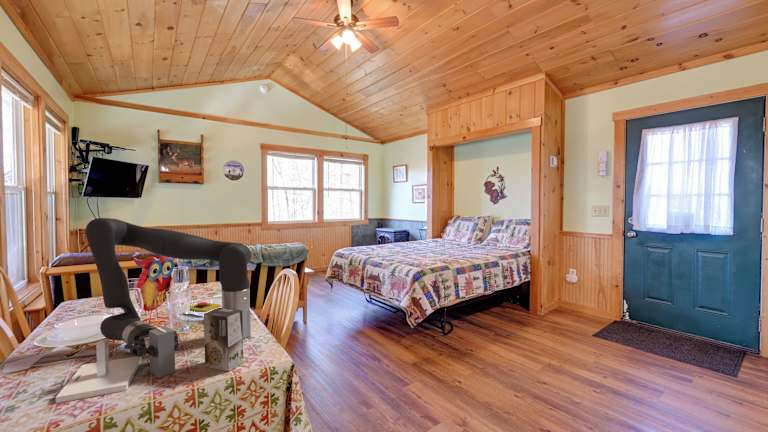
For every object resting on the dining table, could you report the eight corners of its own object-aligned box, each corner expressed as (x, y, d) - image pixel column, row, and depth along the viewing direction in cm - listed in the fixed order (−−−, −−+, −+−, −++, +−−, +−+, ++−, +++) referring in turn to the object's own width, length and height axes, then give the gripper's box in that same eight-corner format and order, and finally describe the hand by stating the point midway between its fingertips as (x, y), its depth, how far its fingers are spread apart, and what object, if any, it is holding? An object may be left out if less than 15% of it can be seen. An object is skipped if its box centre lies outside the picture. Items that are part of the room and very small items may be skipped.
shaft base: (83, 369, 100) (82, 364, 100) (141, 360, 106) (141, 355, 106) (55, 403, 84) (55, 396, 84) (126, 390, 90) (126, 384, 90)
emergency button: (200, 298, 158) (225, 302, 152) (200, 308, 158) (226, 312, 153) (181, 304, 149) (208, 308, 144) (182, 314, 149) (208, 319, 144)
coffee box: (244, 362, 105) (243, 310, 105) (228, 372, 99) (227, 316, 99) (220, 357, 108) (219, 306, 108) (203, 367, 102) (202, 313, 101)
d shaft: (101, 372, 96) (100, 340, 95) (109, 370, 97) (108, 339, 96) (97, 377, 93) (96, 344, 93) (105, 376, 94) (104, 343, 93)
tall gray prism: (175, 371, 99) (174, 329, 98) (158, 378, 96) (157, 334, 95) (166, 366, 102) (165, 325, 102) (150, 372, 99) (148, 329, 98)
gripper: (112, 331, 101) (136, 346, 91) (166, 317, 112) (192, 329, 103) (113, 356, 101) (137, 374, 91) (166, 340, 113) (193, 354, 103)
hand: (166, 350), depth 97 cm, fingers closed on tall gray prism, 4 cm apart
